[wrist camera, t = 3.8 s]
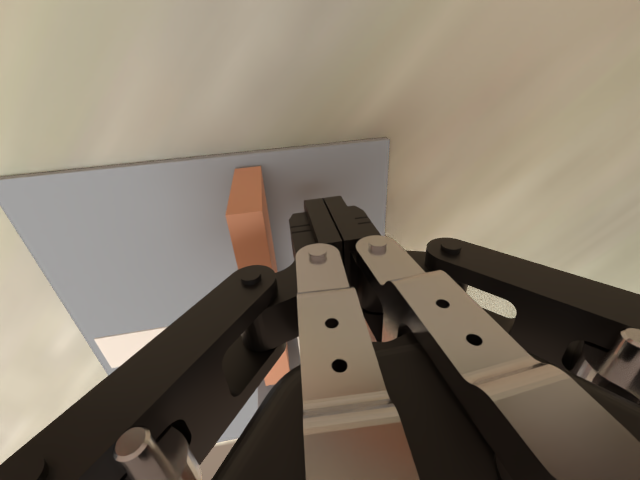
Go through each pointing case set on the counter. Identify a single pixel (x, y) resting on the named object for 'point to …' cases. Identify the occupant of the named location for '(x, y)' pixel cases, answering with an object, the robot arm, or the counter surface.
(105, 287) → the slate board
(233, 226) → the salmon long narrow block
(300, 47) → the counter surface
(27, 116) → the counter surface
